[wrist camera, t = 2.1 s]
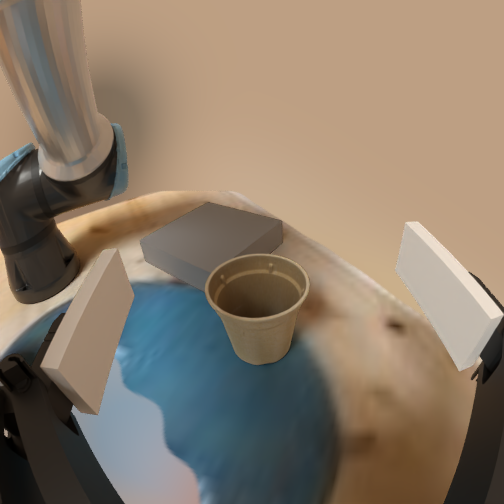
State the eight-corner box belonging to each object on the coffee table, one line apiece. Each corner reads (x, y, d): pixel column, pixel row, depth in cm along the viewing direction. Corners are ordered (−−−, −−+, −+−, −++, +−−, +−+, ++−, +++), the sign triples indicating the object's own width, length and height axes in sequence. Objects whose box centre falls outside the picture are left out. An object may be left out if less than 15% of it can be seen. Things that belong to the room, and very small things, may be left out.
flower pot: (206, 370, 28) (188, 311, 23) (231, 309, 36) (222, 249, 31) (298, 384, 26) (304, 326, 21) (308, 317, 34) (313, 256, 29)
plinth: (145, 261, 46) (139, 240, 44) (210, 221, 56) (208, 202, 54) (217, 298, 38) (212, 273, 35) (282, 242, 48) (282, 220, 46)
